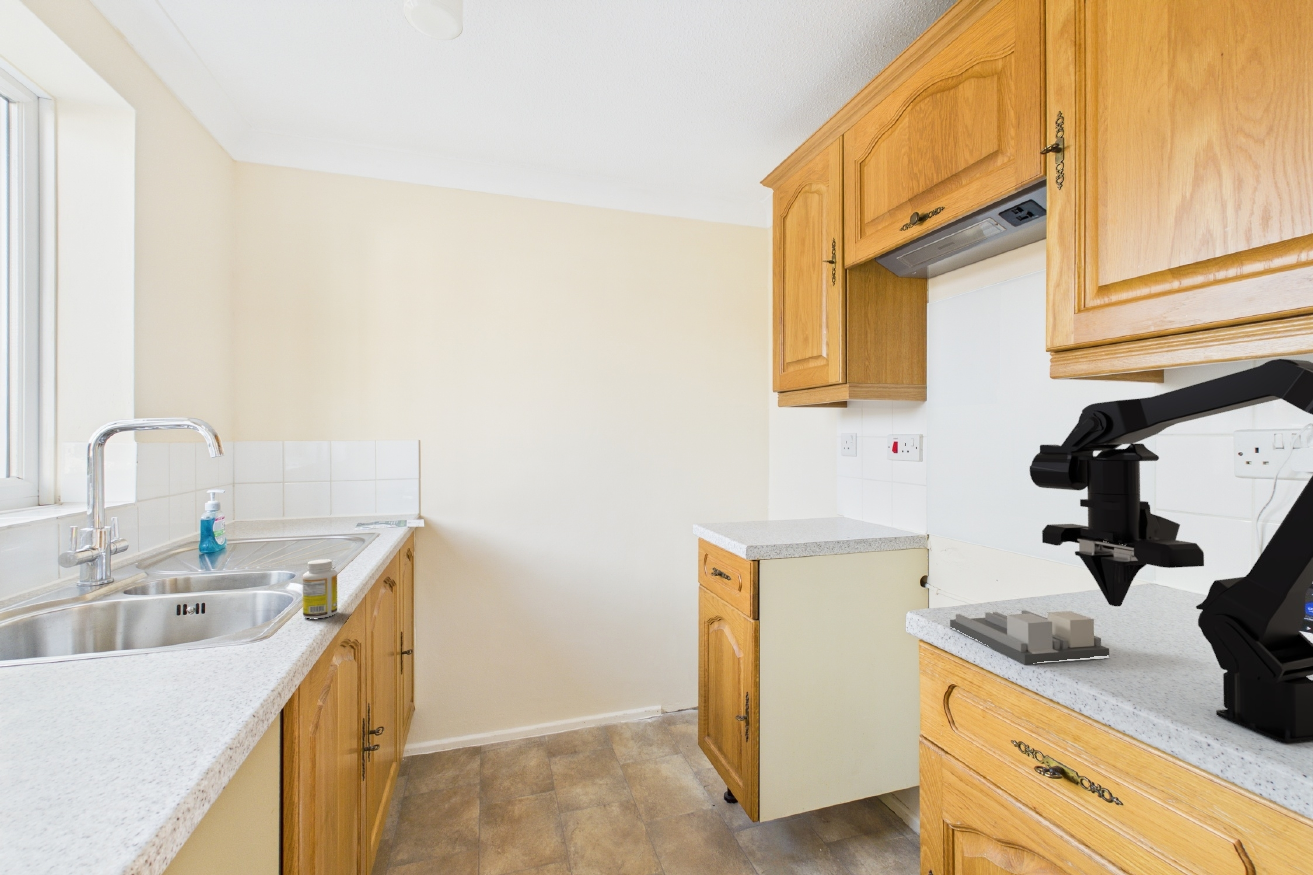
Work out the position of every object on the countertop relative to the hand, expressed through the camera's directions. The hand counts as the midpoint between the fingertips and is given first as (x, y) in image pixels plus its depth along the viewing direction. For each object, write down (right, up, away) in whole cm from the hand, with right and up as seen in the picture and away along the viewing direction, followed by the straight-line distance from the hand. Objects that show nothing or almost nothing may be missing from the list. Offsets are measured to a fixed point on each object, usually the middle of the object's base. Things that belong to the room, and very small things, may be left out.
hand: (1115, 605), depth 79 cm
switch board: (-5, -9, +11) cm, 16 cm away
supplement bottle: (-127, -10, +27) cm, 130 cm away
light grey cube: (-8, -8, +6) cm, 13 cm away
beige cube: (-1, -8, +7) cm, 10 cm away
